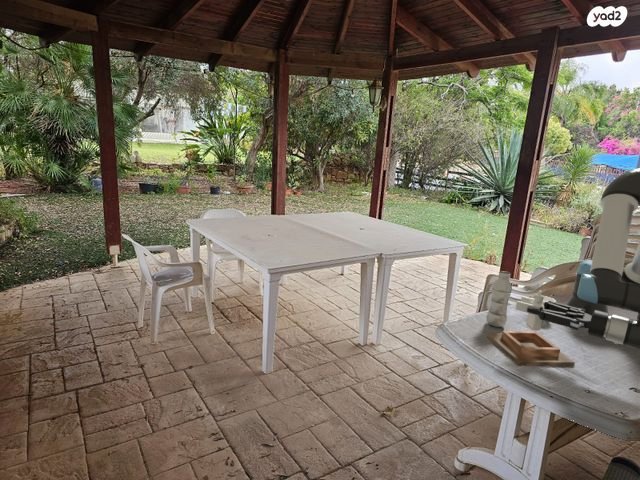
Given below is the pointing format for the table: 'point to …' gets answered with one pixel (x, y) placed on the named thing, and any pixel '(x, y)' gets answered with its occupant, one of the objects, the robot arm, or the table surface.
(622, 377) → the table surface
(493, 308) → the plastic bottle
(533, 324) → the eye dropper bottle
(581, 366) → the table surface
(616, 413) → the table surface
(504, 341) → the collar board
